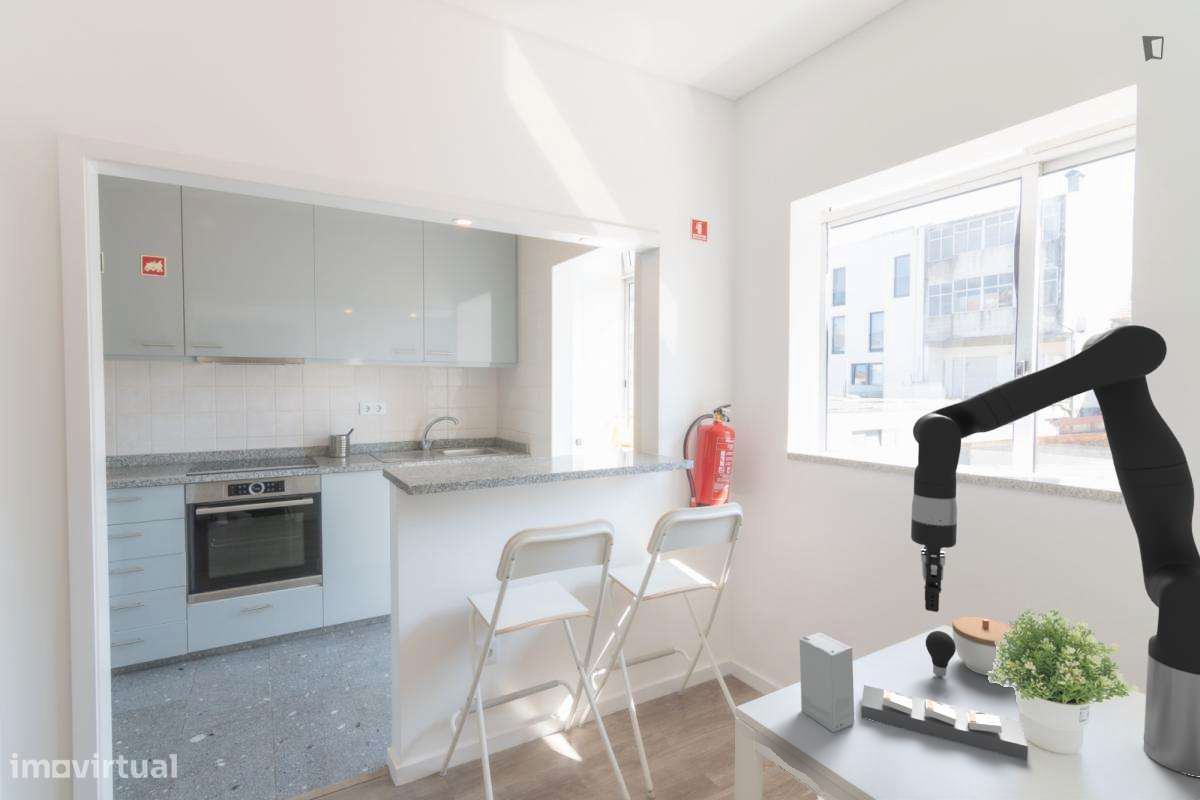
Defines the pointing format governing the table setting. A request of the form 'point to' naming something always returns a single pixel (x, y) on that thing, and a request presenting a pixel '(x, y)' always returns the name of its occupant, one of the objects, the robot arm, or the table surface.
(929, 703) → the rocker middle
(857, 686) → the table surface
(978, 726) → the rocker
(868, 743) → the table surface
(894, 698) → the rocker
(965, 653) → the lidded bowl
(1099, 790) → the table surface
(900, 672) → the table surface
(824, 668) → the skincare box
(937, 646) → the light bulb
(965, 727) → the power strip
